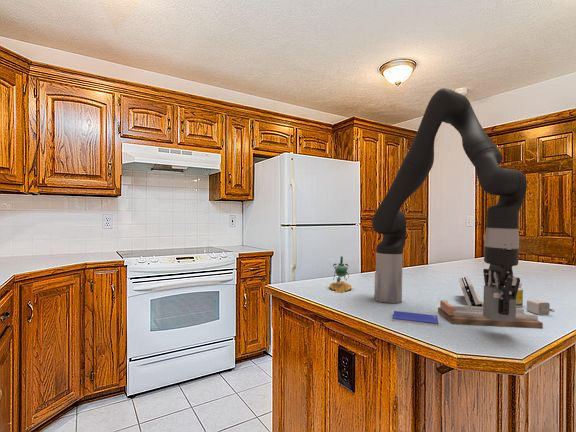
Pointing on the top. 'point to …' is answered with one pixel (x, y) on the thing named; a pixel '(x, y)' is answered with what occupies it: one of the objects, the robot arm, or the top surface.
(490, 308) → the block
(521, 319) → the rail board
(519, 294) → the supplement bottle
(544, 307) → the usb wall charger
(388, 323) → the top surface
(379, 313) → the top surface
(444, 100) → the robot arm
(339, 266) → the frog figurine
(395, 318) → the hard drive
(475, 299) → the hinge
